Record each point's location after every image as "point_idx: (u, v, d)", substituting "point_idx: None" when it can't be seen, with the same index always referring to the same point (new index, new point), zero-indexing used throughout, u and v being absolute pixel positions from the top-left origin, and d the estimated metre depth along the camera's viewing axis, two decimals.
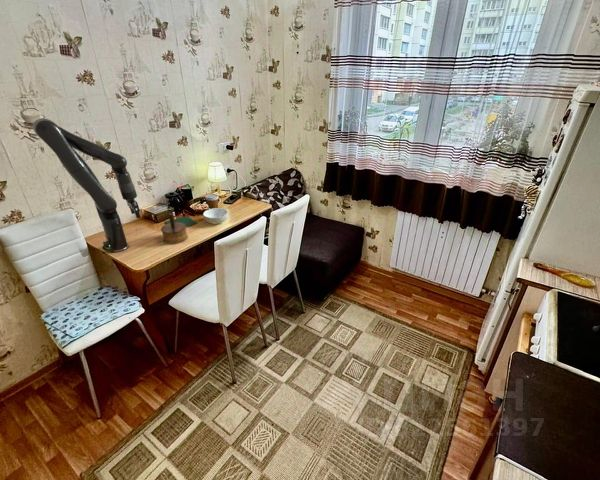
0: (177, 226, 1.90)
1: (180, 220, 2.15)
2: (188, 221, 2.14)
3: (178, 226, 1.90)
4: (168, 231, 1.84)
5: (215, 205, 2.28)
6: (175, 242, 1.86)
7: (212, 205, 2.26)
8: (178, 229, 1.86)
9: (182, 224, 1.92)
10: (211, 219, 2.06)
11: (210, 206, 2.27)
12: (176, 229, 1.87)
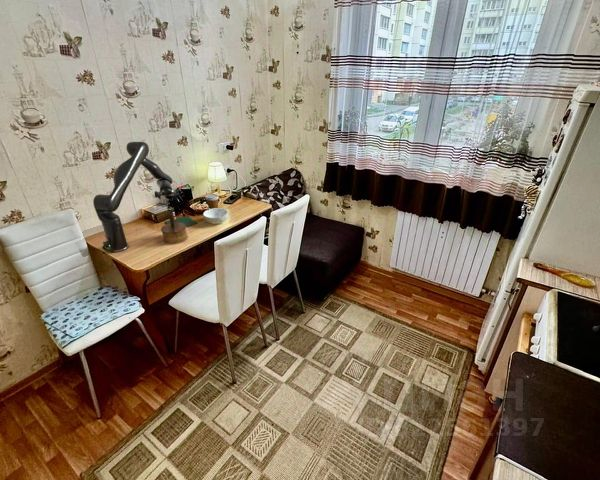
0: (177, 226, 1.90)
1: (180, 220, 2.15)
2: (188, 221, 2.14)
3: (178, 226, 1.90)
4: (168, 231, 1.84)
5: (215, 205, 2.28)
6: (175, 242, 1.86)
7: (212, 205, 2.26)
8: (178, 229, 1.86)
9: (182, 224, 1.92)
10: (211, 219, 2.06)
11: (210, 206, 2.27)
12: (176, 229, 1.87)
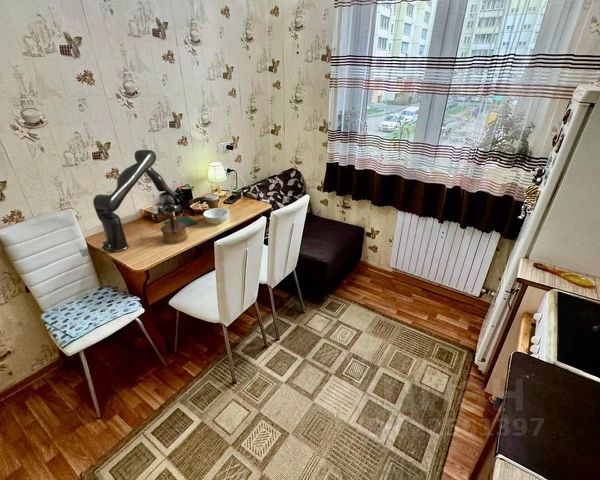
0: (177, 226, 1.90)
1: (180, 220, 2.15)
2: (188, 221, 2.14)
3: (178, 226, 1.90)
4: (168, 231, 1.84)
5: (215, 205, 2.28)
6: (175, 242, 1.86)
7: (212, 205, 2.26)
8: (178, 229, 1.86)
9: (182, 224, 1.92)
10: (211, 219, 2.06)
11: (210, 206, 2.27)
12: (176, 229, 1.87)
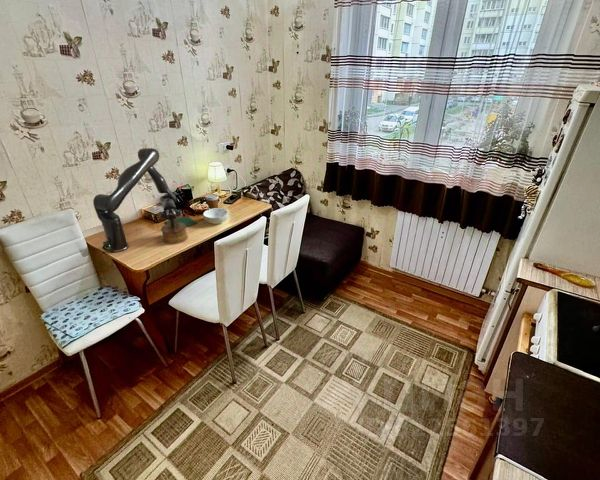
0: (177, 226, 1.90)
1: (180, 220, 2.15)
2: (188, 221, 2.14)
3: (178, 226, 1.90)
4: (168, 231, 1.84)
5: (215, 205, 2.28)
6: (175, 242, 1.86)
7: (212, 205, 2.26)
8: (178, 229, 1.86)
9: (182, 224, 1.92)
10: (211, 219, 2.06)
11: (210, 206, 2.27)
12: (176, 229, 1.87)
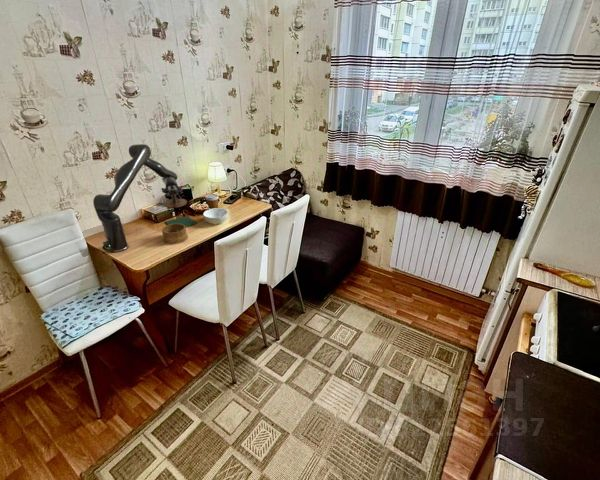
0: (178, 202, 1.99)
1: (180, 220, 2.15)
2: (188, 221, 2.14)
3: (179, 202, 1.99)
4: (170, 206, 1.93)
5: (215, 205, 2.28)
6: (175, 242, 1.86)
7: (212, 205, 2.26)
8: (179, 204, 1.96)
9: (183, 200, 2.01)
10: (211, 219, 2.06)
11: (210, 206, 2.27)
12: (177, 204, 1.96)
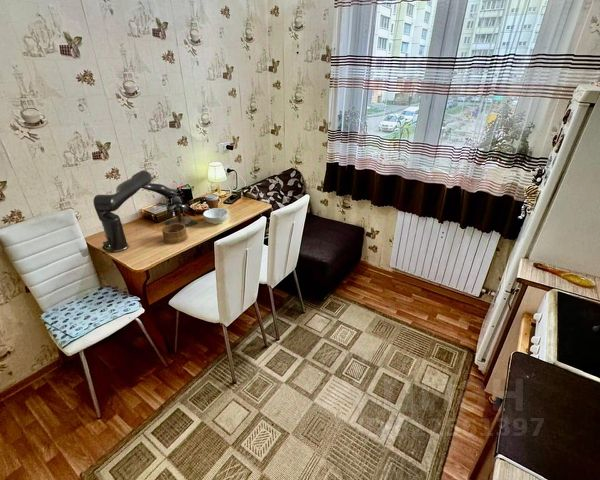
0: (183, 220, 2.13)
1: None
2: None
3: (184, 220, 2.13)
4: None
5: (215, 205, 2.28)
6: (175, 242, 1.86)
7: (212, 205, 2.26)
8: (184, 222, 2.09)
9: (188, 218, 2.15)
10: (211, 219, 2.06)
11: (210, 206, 2.27)
12: (182, 222, 2.10)
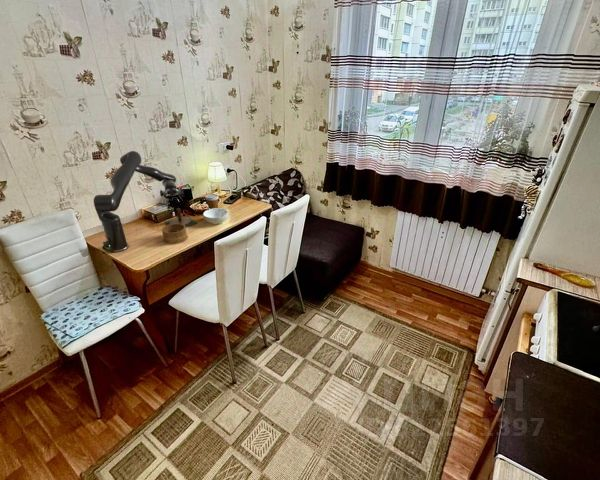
0: (183, 220, 2.13)
1: None
2: None
3: (184, 220, 2.13)
4: None
5: (215, 205, 2.28)
6: (175, 242, 1.86)
7: (212, 205, 2.26)
8: (184, 222, 2.09)
9: (188, 218, 2.15)
10: (211, 219, 2.06)
11: (210, 206, 2.27)
12: (182, 222, 2.10)
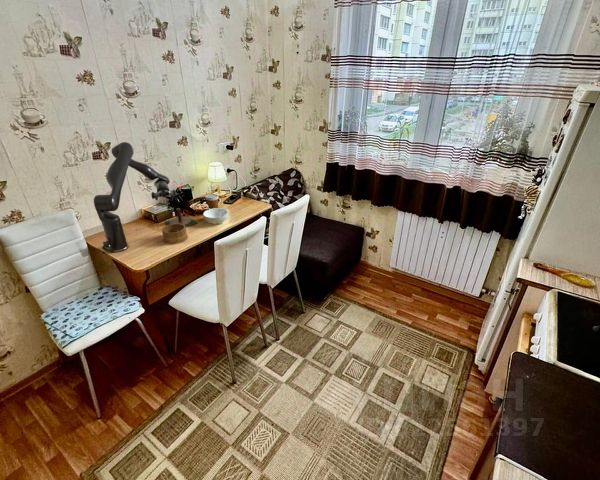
0: (183, 220, 2.13)
1: None
2: None
3: (184, 220, 2.13)
4: None
5: (215, 205, 2.28)
6: (175, 242, 1.86)
7: (212, 205, 2.26)
8: (184, 222, 2.09)
9: (188, 218, 2.15)
10: (211, 219, 2.06)
11: (210, 206, 2.27)
12: (182, 222, 2.10)
